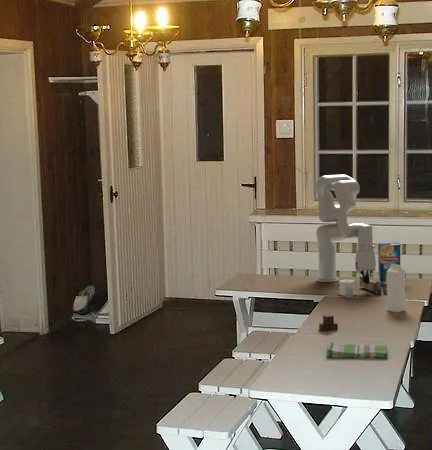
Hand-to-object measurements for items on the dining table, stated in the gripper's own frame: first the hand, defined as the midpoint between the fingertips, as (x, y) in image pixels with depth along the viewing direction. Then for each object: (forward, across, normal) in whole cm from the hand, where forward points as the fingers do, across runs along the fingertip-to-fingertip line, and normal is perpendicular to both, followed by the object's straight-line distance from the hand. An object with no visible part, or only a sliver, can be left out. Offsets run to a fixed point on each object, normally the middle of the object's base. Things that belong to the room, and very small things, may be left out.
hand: (366, 283), depth 439 cm
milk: (+6, +8, +45) cm, 46 cm away
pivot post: (+5, -3, +7) cm, 9 cm away
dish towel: (+8, +57, +104) cm, 119 cm away
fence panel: (+5, -11, +7) cm, 14 cm away
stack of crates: (+7, +52, +68) cm, 86 cm away
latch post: (+5, +15, +10) cm, 19 cm away
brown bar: (+4, -3, -3) cm, 6 cm away
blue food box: (+5, -21, -15) cm, 26 cm away
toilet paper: (+5, +10, -1) cm, 11 cm away
